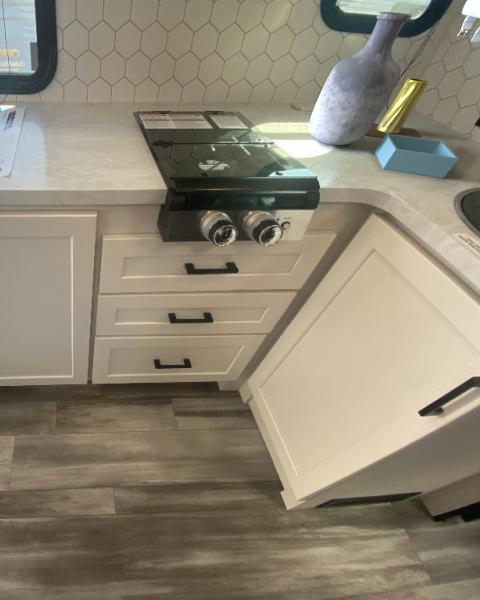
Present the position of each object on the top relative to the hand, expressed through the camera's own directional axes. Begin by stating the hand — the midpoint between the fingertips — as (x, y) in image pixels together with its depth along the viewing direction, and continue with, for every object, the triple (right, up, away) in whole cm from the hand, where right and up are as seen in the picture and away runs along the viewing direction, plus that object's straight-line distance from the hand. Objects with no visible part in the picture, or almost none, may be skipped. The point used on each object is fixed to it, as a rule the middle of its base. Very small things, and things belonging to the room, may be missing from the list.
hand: (467, 39), depth 93 cm
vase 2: (-5, -16, +18) cm, 25 cm away
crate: (-16, -34, 0) cm, 37 cm away
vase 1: (-29, -23, +11) cm, 39 cm away
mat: (-5, -16, +19) cm, 25 cm away
